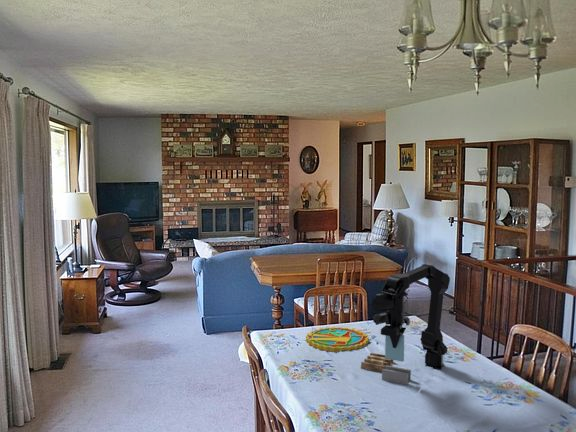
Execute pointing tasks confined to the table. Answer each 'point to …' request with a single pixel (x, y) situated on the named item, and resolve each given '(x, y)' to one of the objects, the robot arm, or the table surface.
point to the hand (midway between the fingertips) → (395, 347)
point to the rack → (375, 367)
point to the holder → (396, 374)
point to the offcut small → (377, 362)
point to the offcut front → (377, 358)
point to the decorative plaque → (336, 339)
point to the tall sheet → (394, 349)
